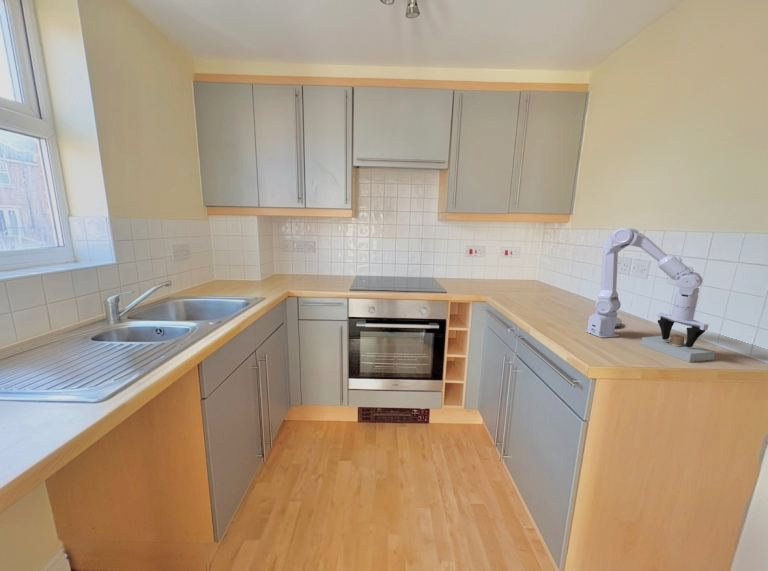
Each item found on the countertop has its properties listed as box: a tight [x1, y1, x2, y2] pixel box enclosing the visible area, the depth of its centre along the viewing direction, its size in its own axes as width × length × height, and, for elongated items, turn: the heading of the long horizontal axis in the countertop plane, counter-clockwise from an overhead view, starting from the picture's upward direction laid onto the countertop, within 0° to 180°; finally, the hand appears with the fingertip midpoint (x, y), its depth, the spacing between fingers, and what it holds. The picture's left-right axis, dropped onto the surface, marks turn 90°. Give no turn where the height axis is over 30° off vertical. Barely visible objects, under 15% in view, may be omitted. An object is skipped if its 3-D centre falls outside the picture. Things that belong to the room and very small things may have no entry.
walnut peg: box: [669, 334, 685, 347], centre depth 114 cm, size 4×4×6 cm
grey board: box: [640, 335, 716, 363], centre depth 114 cm, size 11×16×3 cm
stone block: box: [615, 317, 623, 328], centre depth 145 cm, size 12×5×10 cm
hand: (676, 342), depth 113 cm, fingers open, 7 cm apart
